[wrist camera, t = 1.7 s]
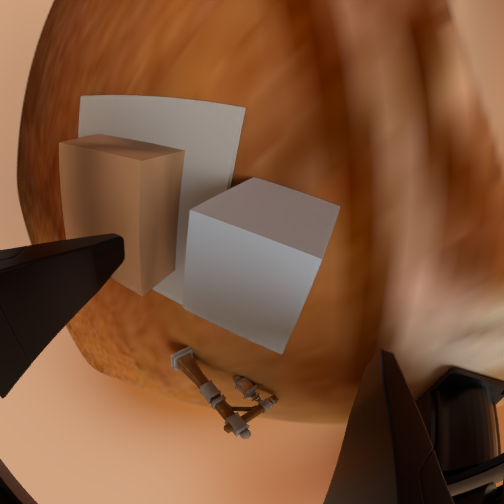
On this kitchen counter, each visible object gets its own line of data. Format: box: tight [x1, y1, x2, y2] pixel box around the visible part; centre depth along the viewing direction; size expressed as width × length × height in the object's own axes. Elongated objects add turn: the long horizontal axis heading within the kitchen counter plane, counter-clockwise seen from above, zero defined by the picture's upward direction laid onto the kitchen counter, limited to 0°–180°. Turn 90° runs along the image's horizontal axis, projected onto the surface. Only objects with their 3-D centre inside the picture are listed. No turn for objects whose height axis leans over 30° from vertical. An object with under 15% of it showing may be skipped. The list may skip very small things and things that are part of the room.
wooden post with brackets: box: [171, 346, 279, 439], centre depth 18 cm, size 2×8×4 cm, turn 78°
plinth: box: [59, 134, 185, 297], centre depth 14 cm, size 7×7×3 cm
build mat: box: [78, 95, 246, 305], centre depth 15 cm, size 12×12×1 cm
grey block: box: [183, 177, 341, 354], centre depth 11 cm, size 4×4×5 cm
